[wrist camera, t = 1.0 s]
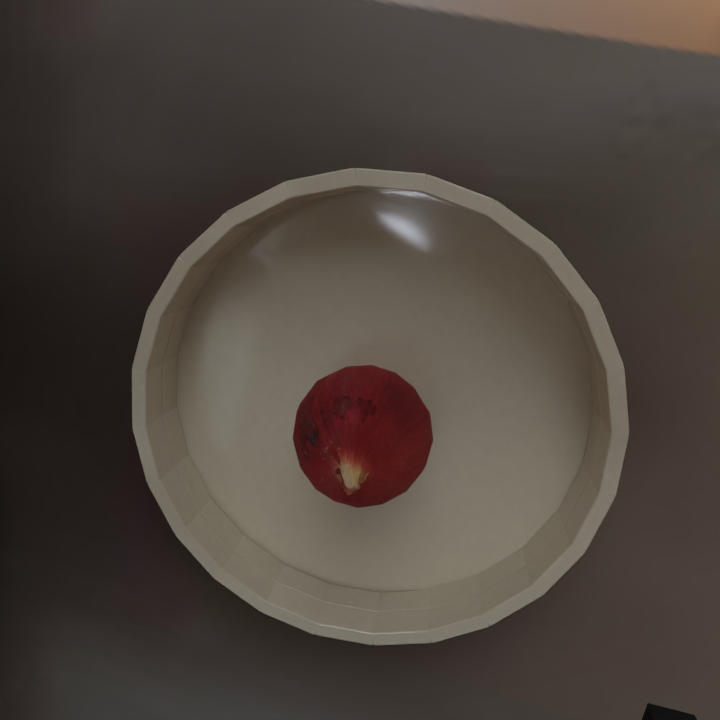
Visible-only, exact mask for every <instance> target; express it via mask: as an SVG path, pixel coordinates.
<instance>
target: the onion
mask: <svg viewBox="0 0 720 720" xmlns="http://www.w3.org/2000/svg"><path fill="white" fill-rule="evenodd" d="M293 442H294V446H295V450H296V454H297V457H298V461H299V465H300V468H301V469H302V471H303V472H304V474H305V475H306V477H307V478H308V479H309V481H310V482H311V484H312V485H313V486H314V488H315V489H316V490H318V491H319V492H321V493H322V494H324V495H325V496H327V497H328V498H330V499H332V500H333V501H335V502H338V503H342V504H346V505H349V506H353V507H356V508H361V507H368V506H375V505H382V504H384V503H386V502H388V501H390V500H392V499H393V498H395V497H397V496H399V495H401V494H403V493H404V492H406V491H407V490H408V489H409V488H410V487H411V485H412V484H413V483H414V482H415V480H416V479H417V478H418V477H419V475H420V474H421V473H422V472H423V470H424V468H425V466H426V463H427V460H428V457H429V453H430V450H431V447H432V443H433V434H432V425H431V416H430V412H429V411H428V409H427V407H426V406H425V404H424V403H423V401H422V399H421V398H420V396H419V395H418V393H417V391H416V389H415V388H414V387H413V386H412V385H411V384H409V383H408V382H407V381H406V380H404V379H403V378H402V377H400V376H399V375H398V374H397V373H395V372H392V371H389V370H386V369H383V368H380V367H377V366H374V365H364V366H347V367H344V368H342V369H340V370H338V371H336V372H334V373H332V374H330V375H328V376H325V377H323V378H322V379H320V380H318V381H316V383H315V384H314V385H313V387H312V388H311V389H310V391H309V392H308V393H307V395H306V396H305V397H304V399H303V400H302V402H301V403H300V405H299V407H298V410H297V413H296V419H295V426H294V432H293Z"/></svg>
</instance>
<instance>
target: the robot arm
mask: <svg viewBox="0 0 720 720" xmlns="http://www.w3.org/2000/svg"><path fill="white" fill-rule="evenodd" d="M642 720H697V719H696V717H695V715H692V714H688V713H684V712H680V711H676V710H673V709H669V708H665V707H661V706H657V705H653V704H649V703H648V704H647V707H646V710H645V712H644V715H643V718H642Z"/></svg>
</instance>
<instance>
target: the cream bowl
mask: <svg viewBox="0 0 720 720" xmlns="http://www.w3.org/2000/svg"><path fill="white" fill-rule="evenodd" d="M364 365H374V366H377V367H380V368H383V369H386V370H389V371H392V372H395V373H397V374H398V375H399V376H400V377H402V378H403V379H404V380H406V381H407V382H408V383H409V384H411V385H412V386H413V387H414V388H415V389H416V391H417V393H418V395H419V396H420V398H421V399H422V401H423V403H424V404H425V406H426V407H427V409H428V411H429V412H430V416H431V425H432V434H433V443H432V447H431V450H430V453H429V457H428V460H427V463H426V466H425V468H424V470H423V472H422V473H421V474H420V475H419V477H418V478H417V479H416V480H415V482H414V483H413V484H412V485H411V487H410V488H409V489H408V490H407V491H406V492H404V493H403V494H401V495H399V496H397V497H395V498H393V499H392V500H390V501H388V502H386V503H384V504H382V505H375V506H368V507H361V508H356V507H353V506H349V505H346V504H342V503H338V502H335V501H333V500H332V499H330V498H328V497H327V496H325V495H324V494H322V493H321V492H319V491H318V490H316V489H315V488H314V486H313V485H312V484H311V482H310V481H309V479H308V478H307V477H306V475H305V474H304V472H303V471H302V469H301V468H300V465H299V461H298V457H297V454H296V450H295V446H294V442H293V432H294V426H295V419H296V413H297V410H298V407H299V405H300V403H301V402H302V400H303V399H304V397H305V396H306V395H307V393H308V392H309V391H310V389H311V388H312V387H313V385H314V384H315V383H316V381H318V380H320V379H322V378H323V377H325V376H328V375H330V374H332V373H334V372H336V371H338V370H340V369H342V368H344V367H347V366H364ZM623 366H624V364H623V361H622V359H621V356H620V354H619V351H618V349H617V346H616V343H615V341H614V338H613V336H612V333H611V330H610V328H609V325H608V323H607V320H606V317H605V315H604V312H603V310H602V307H601V304H600V302H599V301H598V299H597V298H596V296H595V295H594V294H593V292H592V291H591V290H590V288H589V287H588V286H587V284H586V283H585V282H584V281H583V279H582V278H581V277H580V275H579V274H578V273H577V271H576V270H575V269H574V267H573V266H572V265H571V264H570V262H569V261H568V260H567V258H566V257H565V256H564V254H563V253H562V252H561V250H560V249H559V248H558V247H557V245H556V244H554V242H552V241H551V240H550V239H548V238H547V237H546V236H544V235H543V234H542V233H540V232H539V231H538V230H536V229H535V228H533V227H532V226H531V225H529V224H528V223H527V222H525V221H524V220H523V219H521V218H520V217H519V216H517V215H516V214H515V213H513V212H512V211H510V210H509V209H508V208H506V207H505V206H504V205H502V204H501V203H500V202H498V201H495V200H494V199H493V198H490V197H487V196H485V195H482V194H479V193H477V192H474V191H472V190H469V189H466V188H464V187H461V186H458V185H456V184H453V183H450V182H448V181H445V180H442V179H440V178H437V177H434V176H432V175H429V174H427V175H426V174H425V173H413V172H402V171H390V170H378V169H366V168H349V169H344V170H339V171H334V172H329V173H324V174H318V175H313V176H308V177H303V178H298V179H293V180H288V181H286V182H282V183H280V184H278V185H277V186H275V187H273V188H271V189H269V190H267V191H265V192H263V193H261V194H259V195H257V196H255V197H253V198H251V199H249V200H247V201H245V202H243V203H241V204H239V205H237V206H236V207H234V208H232V209H230V210H228V211H227V212H226V213H224V214H223V215H222V216H221V217H220V218H219V219H217V220H216V221H215V222H214V223H213V224H212V225H211V226H210V227H209V228H208V229H207V230H206V231H205V232H204V233H203V234H202V235H200V236H199V237H198V238H197V239H196V240H195V241H194V242H193V243H192V244H191V245H190V246H189V247H188V248H187V249H186V250H185V251H184V252H182V253H181V254H180V257H178V258H177V260H176V262H175V263H174V265H173V267H172V268H171V270H170V272H169V273H168V275H167V277H166V279H165V280H164V282H163V284H162V285H161V287H160V289H159V290H158V292H157V294H156V295H155V297H154V299H153V300H152V302H151V304H150V306H149V307H148V310H147V312H146V316H145V320H144V324H143V328H142V331H141V335H140V339H139V343H138V346H137V350H136V354H135V358H134V361H133V365H132V367H133V368H132V426H133V427H132V429H133V433H134V436H135V440H136V444H137V448H138V452H139V455H140V459H141V463H142V467H143V471H144V474H145V478H146V482H147V483H148V486H149V488H150V490H151V492H152V493H153V495H154V497H155V499H156V501H157V503H158V504H159V506H160V508H161V510H162V512H163V514H164V516H165V517H166V519H167V521H168V523H169V525H170V527H171V528H172V530H173V532H174V533H175V535H176V537H177V538H178V539H179V540H180V541H181V542H182V543H183V544H184V546H185V547H186V548H187V549H188V550H189V551H190V552H191V553H192V555H193V556H194V557H195V558H196V559H197V560H198V561H199V562H200V564H201V565H202V566H203V567H204V568H205V569H206V570H207V571H208V573H209V574H210V575H211V576H212V577H214V579H215V580H217V581H218V582H220V583H221V584H222V585H224V586H225V587H226V588H228V589H229V590H231V591H232V592H233V593H235V594H236V595H238V596H239V597H240V598H242V599H243V600H245V601H246V602H247V603H249V604H250V605H252V606H253V607H254V608H256V609H257V610H259V611H260V612H262V613H264V614H266V615H269V616H271V617H273V618H276V619H278V620H280V621H283V622H285V623H287V624H290V625H292V626H294V627H297V628H299V629H301V630H304V631H306V632H309V633H311V634H313V635H315V634H316V635H318V636H324V637H329V638H335V639H340V640H345V641H351V642H356V643H362V644H367V645H397V644H420V643H435V642H438V641H442V640H445V639H449V638H452V637H456V636H459V635H463V634H466V633H470V632H473V631H477V630H480V629H484V628H487V627H489V625H490V626H491V625H493V624H495V623H497V622H498V621H500V620H502V619H503V618H505V617H507V616H509V615H510V614H512V613H514V612H515V611H517V610H519V609H521V608H522V607H524V606H526V605H527V604H529V603H531V602H533V601H534V600H536V599H538V598H539V597H541V596H543V595H544V594H545V593H546V592H547V591H548V590H549V589H550V588H551V587H552V586H553V585H554V584H555V583H556V582H557V581H558V580H559V579H560V578H561V577H562V576H563V575H564V574H565V573H566V572H567V571H568V570H569V569H570V568H571V567H572V566H573V565H574V564H575V562H576V561H577V560H578V559H579V558H580V557H581V556H582V555H583V554H584V553H585V552H584V551H586V550H587V548H588V546H589V544H590V543H591V541H592V539H593V537H594V535H595V533H596V532H597V530H598V528H599V526H600V524H601V523H602V521H603V519H604V517H605V515H606V513H607V512H608V510H609V508H610V506H611V504H612V502H613V501H614V499H615V496H616V493H617V488H618V484H619V479H620V475H621V470H622V465H623V461H624V456H625V452H626V447H627V443H628V438H629V420H628V407H627V394H626V381H625V368H624V367H623Z"/></svg>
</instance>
